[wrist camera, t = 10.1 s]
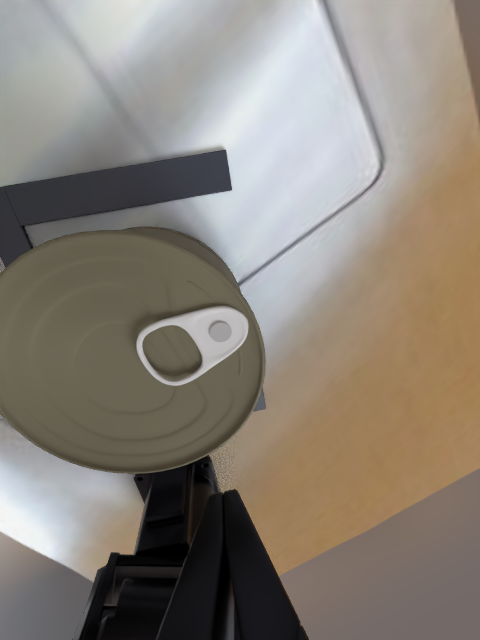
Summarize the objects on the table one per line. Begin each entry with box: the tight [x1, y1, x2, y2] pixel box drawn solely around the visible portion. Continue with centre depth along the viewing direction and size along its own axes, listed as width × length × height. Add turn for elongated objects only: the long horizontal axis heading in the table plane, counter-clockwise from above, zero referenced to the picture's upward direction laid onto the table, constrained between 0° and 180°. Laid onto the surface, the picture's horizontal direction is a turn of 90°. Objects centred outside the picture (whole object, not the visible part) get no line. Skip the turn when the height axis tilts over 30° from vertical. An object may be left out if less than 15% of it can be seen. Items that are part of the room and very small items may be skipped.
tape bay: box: [0, 150, 266, 411], centre depth 18 cm, size 18×14×1 cm
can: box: [0, 227, 266, 474], centre depth 15 cm, size 12×12×7 cm
